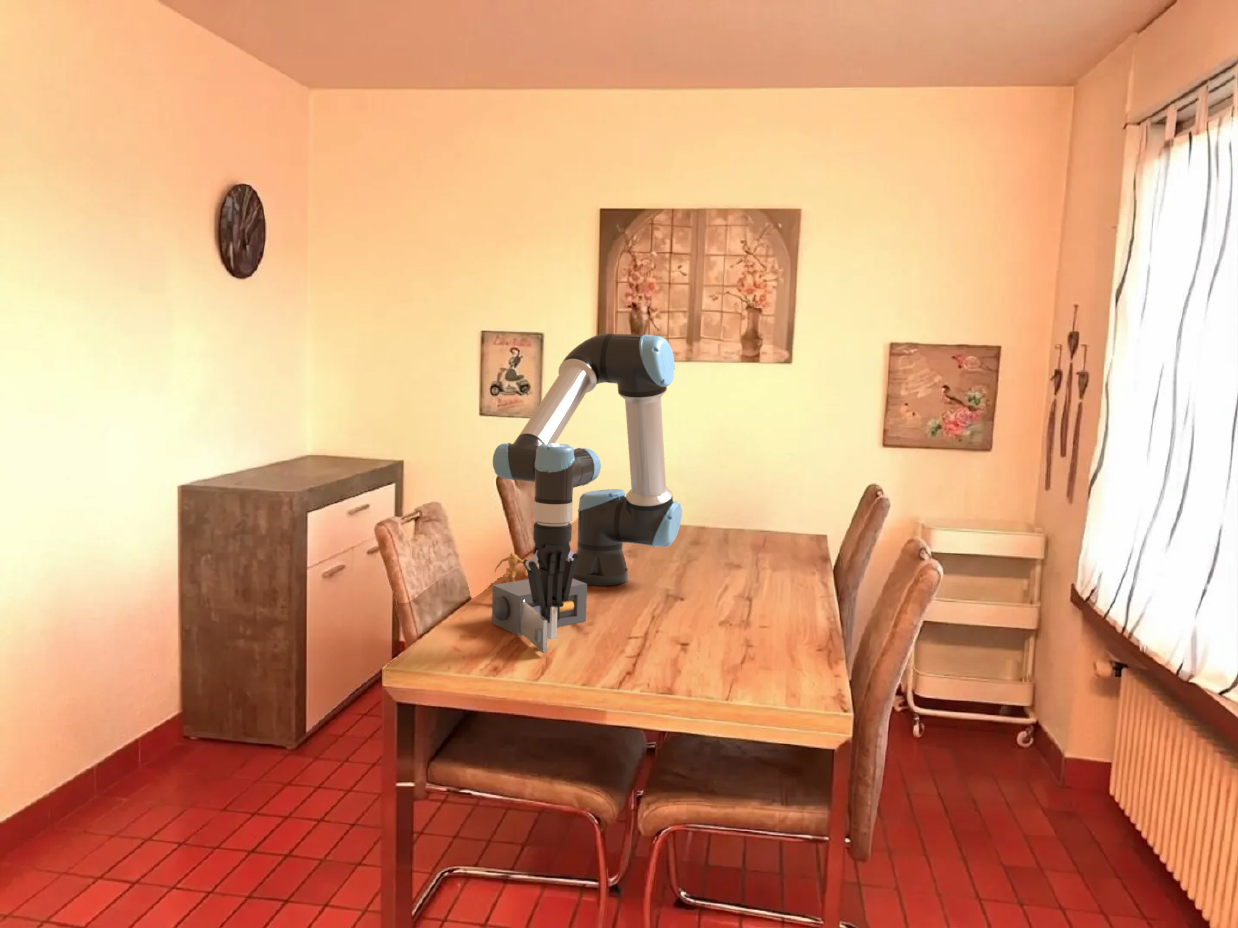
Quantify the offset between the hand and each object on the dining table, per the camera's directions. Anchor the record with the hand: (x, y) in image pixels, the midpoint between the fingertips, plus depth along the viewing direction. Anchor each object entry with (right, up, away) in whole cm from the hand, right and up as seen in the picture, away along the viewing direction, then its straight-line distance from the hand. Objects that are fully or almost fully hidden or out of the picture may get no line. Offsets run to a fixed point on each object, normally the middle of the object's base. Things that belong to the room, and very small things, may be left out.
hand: (549, 637), depth 187 cm
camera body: (-3, 0, +17) cm, 17 cm away
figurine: (-11, +2, +29) cm, 31 cm away
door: (-4, -1, 0) cm, 4 cm away
